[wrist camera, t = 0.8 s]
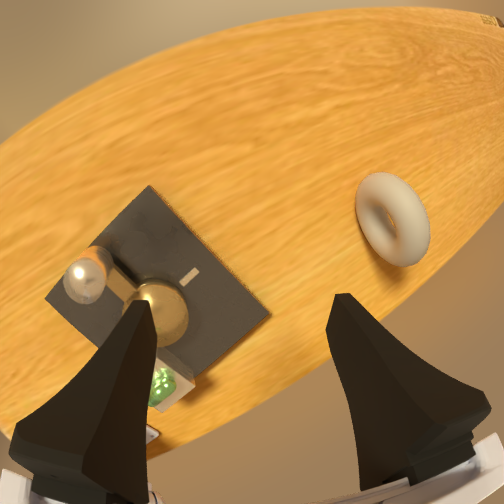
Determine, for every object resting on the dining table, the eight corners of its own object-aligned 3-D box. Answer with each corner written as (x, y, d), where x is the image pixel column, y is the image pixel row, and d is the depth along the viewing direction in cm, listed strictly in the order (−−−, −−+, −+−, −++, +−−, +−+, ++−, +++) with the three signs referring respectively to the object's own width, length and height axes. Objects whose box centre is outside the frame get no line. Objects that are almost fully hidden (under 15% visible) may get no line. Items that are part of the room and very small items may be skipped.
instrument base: (167, 391, 32) (170, 427, 26) (49, 292, 26) (28, 319, 20) (264, 306, 33) (285, 333, 27) (149, 184, 27) (145, 187, 21)
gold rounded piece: (199, 308, 29) (211, 346, 23) (157, 347, 29) (158, 391, 22) (111, 221, 25) (94, 237, 18) (69, 267, 25) (44, 296, 18)
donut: (337, 176, 31) (400, 182, 22) (361, 166, 32) (426, 168, 23) (362, 258, 35) (420, 286, 25) (383, 245, 35) (443, 268, 26)
